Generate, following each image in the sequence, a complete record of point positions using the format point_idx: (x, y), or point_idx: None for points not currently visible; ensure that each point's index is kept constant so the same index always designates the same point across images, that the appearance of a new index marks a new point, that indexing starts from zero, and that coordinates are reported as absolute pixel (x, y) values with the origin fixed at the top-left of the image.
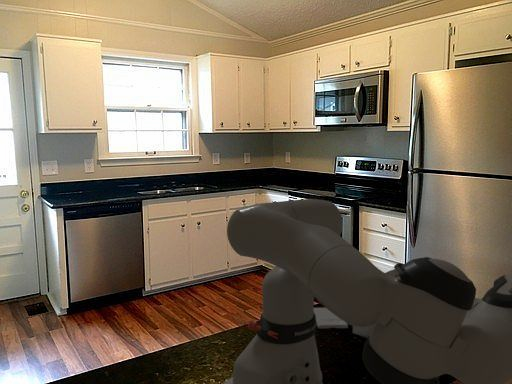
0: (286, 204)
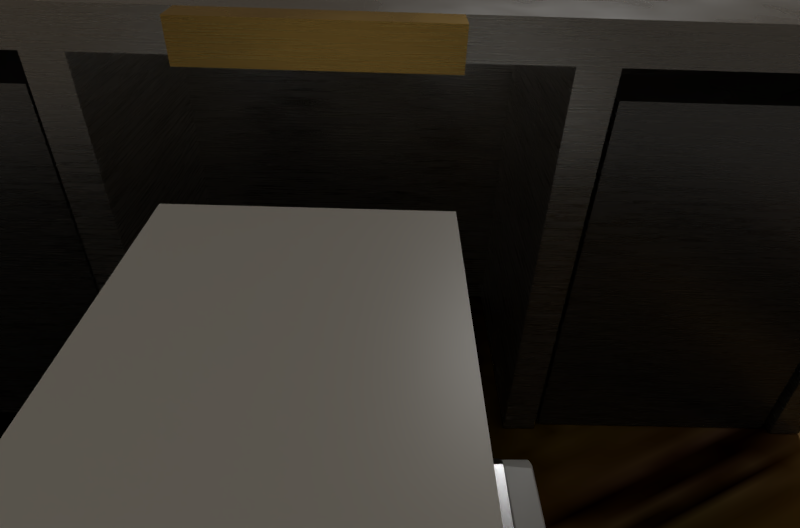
0: None
